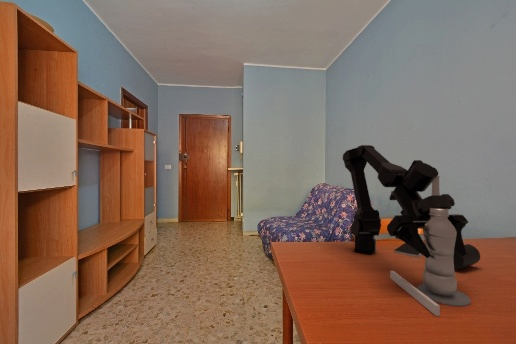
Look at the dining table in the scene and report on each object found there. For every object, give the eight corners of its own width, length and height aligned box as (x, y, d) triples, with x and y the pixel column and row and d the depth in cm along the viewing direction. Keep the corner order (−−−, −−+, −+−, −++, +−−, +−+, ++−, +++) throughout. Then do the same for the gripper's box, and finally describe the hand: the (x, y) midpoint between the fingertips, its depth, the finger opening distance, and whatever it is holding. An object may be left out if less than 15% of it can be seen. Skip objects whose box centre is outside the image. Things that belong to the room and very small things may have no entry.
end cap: (463, 274, 70) (463, 250, 70) (436, 266, 77) (436, 244, 77) (480, 268, 75) (480, 246, 75) (453, 261, 81) (453, 240, 81)
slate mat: (416, 297, 57) (416, 295, 57) (417, 282, 65) (417, 280, 65) (473, 311, 51) (473, 309, 51) (467, 292, 59) (467, 290, 59)
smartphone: (428, 247, 95) (419, 255, 84) (428, 250, 95) (419, 258, 84) (404, 242, 101) (393, 250, 90) (404, 245, 101) (393, 253, 90)
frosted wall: (439, 315, 49) (439, 305, 49) (435, 315, 49) (435, 305, 49) (393, 278, 67) (393, 270, 67) (390, 278, 67) (390, 270, 67)
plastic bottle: (439, 285, 62) (438, 205, 62) (465, 299, 55) (464, 209, 55) (416, 287, 61) (415, 206, 61) (439, 301, 54) (438, 210, 54)
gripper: (393, 183, 61) (430, 239, 50) (461, 183, 63) (510, 236, 52) (375, 210, 69) (403, 264, 58) (435, 209, 71) (473, 261, 60)
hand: (447, 256), depth 57 cm, fingers open, 9 cm apart
